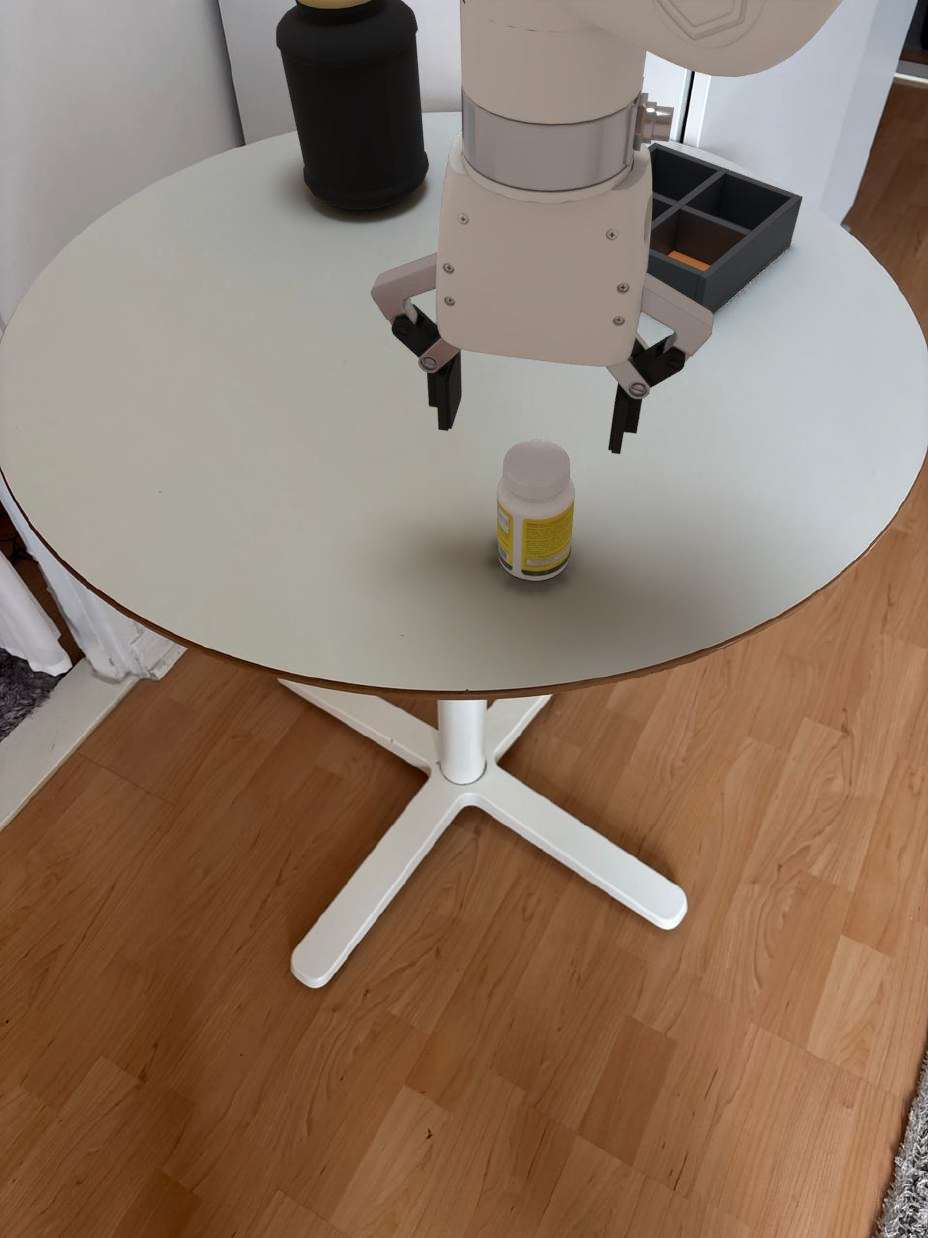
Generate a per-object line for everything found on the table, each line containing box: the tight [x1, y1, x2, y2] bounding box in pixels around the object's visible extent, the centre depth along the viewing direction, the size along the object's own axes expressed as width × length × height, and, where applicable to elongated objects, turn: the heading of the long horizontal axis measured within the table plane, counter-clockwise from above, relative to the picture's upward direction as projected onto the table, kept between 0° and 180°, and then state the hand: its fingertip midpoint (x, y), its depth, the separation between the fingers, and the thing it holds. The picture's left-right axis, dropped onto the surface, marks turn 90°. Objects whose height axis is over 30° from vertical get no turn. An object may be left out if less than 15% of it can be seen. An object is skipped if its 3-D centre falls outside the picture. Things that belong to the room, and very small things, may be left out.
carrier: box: [647, 142, 804, 314], centre depth 83 cm, size 15×15×4 cm
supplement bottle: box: [496, 438, 576, 582], centre depth 61 cm, size 5×5×8 cm
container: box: [275, 0, 430, 211], centre depth 86 cm, size 12×12×18 cm
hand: (532, 425), depth 56 cm, fingers open, 9 cm apart
